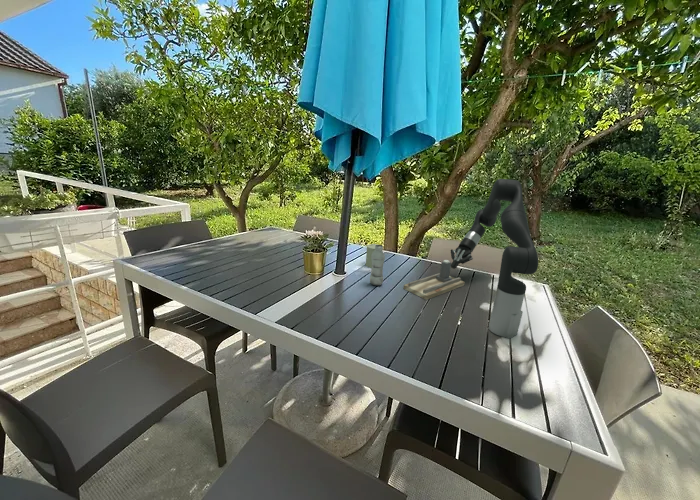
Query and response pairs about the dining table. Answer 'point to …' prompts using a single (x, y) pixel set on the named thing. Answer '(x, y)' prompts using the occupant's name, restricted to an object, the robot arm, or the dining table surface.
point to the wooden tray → (432, 286)
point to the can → (369, 254)
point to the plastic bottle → (377, 265)
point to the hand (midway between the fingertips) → (452, 267)
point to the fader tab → (444, 271)
